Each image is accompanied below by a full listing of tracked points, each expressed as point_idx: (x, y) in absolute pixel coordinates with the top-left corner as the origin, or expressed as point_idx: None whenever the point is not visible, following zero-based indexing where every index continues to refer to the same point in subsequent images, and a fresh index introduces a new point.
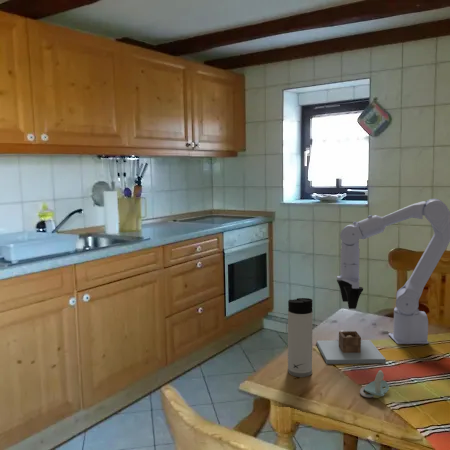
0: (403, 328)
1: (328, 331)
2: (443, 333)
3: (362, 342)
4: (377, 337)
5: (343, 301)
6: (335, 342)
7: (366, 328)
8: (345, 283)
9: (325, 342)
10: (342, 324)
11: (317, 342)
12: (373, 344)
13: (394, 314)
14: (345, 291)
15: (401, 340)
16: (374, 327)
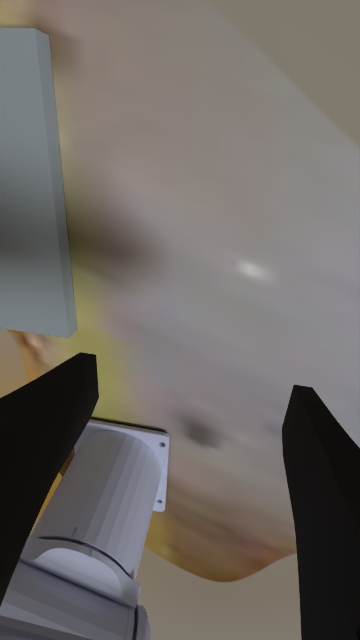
0: (59, 483)
1: (261, 189)
2: (170, 559)
3: (34, 296)
4: (147, 386)
5: (293, 388)
6: (17, 157)
7: (263, 393)
8: (333, 610)
9: (9, 89)
10: (356, 312)
11: (9, 28)
12: (18, 330)
13: (81, 524)
14: (312, 488)
15: (85, 439)
16: (268, 427)
